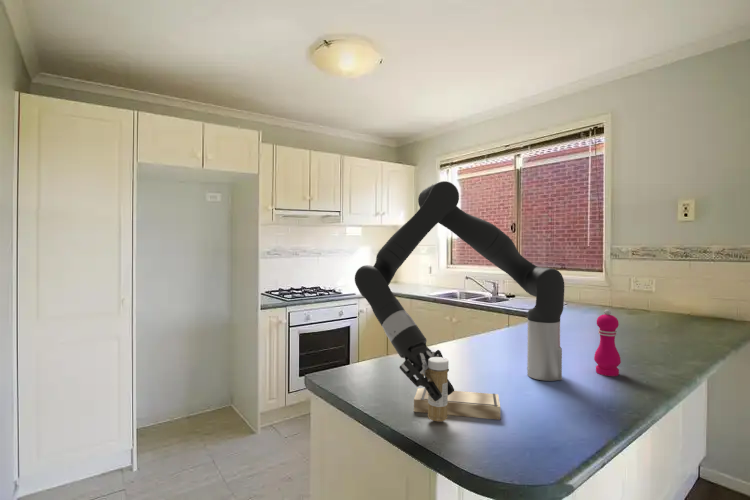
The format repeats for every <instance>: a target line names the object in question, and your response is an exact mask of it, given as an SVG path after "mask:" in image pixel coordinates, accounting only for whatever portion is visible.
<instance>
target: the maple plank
mask: <svg viewBox="0 0 750 500" xmlns="http://www.w3.org/2000/svg"><path fill="white" fill-rule="evenodd" d="M499 397H500V396H499V393H485V392H474V391H460V390H454V392H453V393H451V394H450V395H448V403H447V416H456V417H464V418H465V417H467V418H468V417H469V418H477V419H478V418H479V419H485V420H486V419H487V420H499V421H500V420H501V404H500V398H499ZM413 412H415V413H424V414H425V413H426V414H428V391H427V390H426V388H425V387H417V390H416V392H415V396H414V398H413Z"/></svg>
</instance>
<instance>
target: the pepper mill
mask: <svg viewBox="0 0 750 500" xmlns="http://www.w3.org/2000/svg"><path fill="white" fill-rule="evenodd" d="M611 313H612V312H611V310H610V309H605V310H604V314H601V315H599V316H598V317H597V318H596V325H597V327H598V328H599V329H598V335H599V338H600V339H599V345H598V347H597V349H596V350H595V352H594V356H593V360H594V362H595V363H596V366H595V372H596V373H597V374H598V375H601V376H606V377H618V376H619V375H620V368H618V367H619V366H620V365H621V363H622V361H621V360H622V359H621V355H620V353H619V352H618V349H617V346H616V340H615V338H616V336H617V335H618V334H617V329H618V327H620V326H619V325H620V324H619V320H618V318H617V317H616V316H615V315H612V314H611Z"/></svg>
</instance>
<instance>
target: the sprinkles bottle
mask: <svg viewBox="0 0 750 500" xmlns="http://www.w3.org/2000/svg"><path fill="white" fill-rule="evenodd" d="M428 367H429V375H430V377H431V379H432V381H431V382H434V383H435V385H436V386H437V388H438V389H439V391H440V392H441V394H442V397H441V398H440V399H439V400H437V401H434V400H433V399H432V398H431V396H430V395H429V393H428V413H427V417H428V419H429V420H430V421H433V422H444V421H446V420H447V419H448V416H449V415H447V403H448V381H447V380H449V379H447V378H448V376H449V375H448V372H449V371H448V369H449V359H447V358H445V357H443V358H442V357H432V358H429V359H428Z"/></svg>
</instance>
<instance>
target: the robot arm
mask: <svg viewBox="0 0 750 500" xmlns="http://www.w3.org/2000/svg"><path fill="white" fill-rule="evenodd" d="M459 200H460V193H459V190H458V188H457V186H456V185H455V184H454V183H452V182H450V181H447V180H441V181H438V182H435V183H433V184H431V185H429V186H427V187H426V188H424V189H423V190H422V191H421V192H420V194H419V195H418V201H417V202H418V206H419V209H418V210H417V211H416V212H415V213H414V214H413V216H412V217H411V218H410V219H408V220H407V222H405V223H404V224H403V225H402V226H401V227H400V228H399V229H397V231H395V233H393V234H392V235H391V237H390V238H389V239H388V240H387V242H385V243H384V245H383V246H382V247H381V248H380V250H379V251H378V253H377V254H376V259H375V263H374V264H373V265H368V264H367V265H366V264H365V265H362V266H360V267H359V268H358V269H357V270H356V271H355V274H354V283H355V286H356V288H357V290H358V291H359V293H360V295H361V297H363V298H364V299H366V301H367V303H368V305H370V306H369V307H370V308H371V310H372V312H373V314H374V316H375V318H376V319H377V321H378V323H379V324H380V325H381V327H382V328H383V331H384V333H385V335H386V337H387V338H388V341H389V342H390V343H391V345H392V346H393V348H394V349H395V351H396V353H397V354H398V356H399V357H400V358H401V359H404V362H402V363H401V364H400V365H399V370H400V371H401V372H402V373H403V374H404V375H405V376H406V377H407V378H408V379H409V380H410V381H411V383H412V384H413V385H414V386H415V387H416V388H420V387H421V388H426V390H427V391H428V393H429V395H430V396H431V398H432V399H433V400H434V401H437V400H439V399H440V398H441V397H442V394H441V392H440V391H439V389H438V388H437V386H436V385H435V383H434V382H431V381H432V379H431V377H430V375H429V367H428V359H429V358H432V357H442V358H444V357H443V354H442V352H441V350H439V349H437V350H436V351H432V350H431V349H430V348H429V347H428V346H427V341H428V340H427V338H426V337H425V335H424V333H423V331H421V329H420V328H419V326H418V325H417V324H416V322H415V320H414V319H413V318H412V316H411V315H410V314H409V313H408V312H407V311H406V309H405V308H404V307H403V305H402V303H400V300H398V299H397V297H396V296H395V295H394V294H393V291H392V290H391V288H390V283H391V282H392V280H393V278H394V277H395V275H396V272H398V269H400V267H402V265H403V263H404V262H405V261H407V258H409V257H410V255H411V254H412V252H414V250H415V249H416V248H417V247H418V246H419V244H420V243H421V242H422V240H423V239H424V238H425V237H426V236H427V235H428V234H429V233H430V232H431V231H432V230H433V228H434V227H435V226H437V224H440V225H441V226H443V227H444V228H446V229H448V230H449V231H450V232H451V233H453V234H454V235H455V236H457V237H458V238H459V239H460V240H462V241H463V242H464V243H466V244H467V245H468V246H469V247H471V248H472V249H473V250H474V251H476V252H477V253H478V254H479V255H481V256H482V257H483V258H485V259H486V260H487V261H488V262H490V263H491V264H493V265H494V266H495V267H497V268H498V269H500V270H501V271H503V272H504V273H505V274H507V275H508V276H509V277H510V278H512V279H513V280H514V282H515V283H517V284H518V285H519V286H520V287H521V289H523V291H525V292H526V293H527V294H529V295H530V296H533V297H536V299H535V305H534V307H533V308H530V309H528V311H527V353H526V354H527V355H526V357H527V361H526V362H527V363H526V365H527V367H526V370H527V373H526V375H527V376H528V377H530V378H532V379H535V380H538V381H539V380H540V381H546V382H554V381H562V380H563V378H562V377H563V365H562V364H563V349H562V347H561V316H562V314H563V312H564V305H565V304H564V302H565V281H564V276H563V275H562V273H561V272H560V270H558V269H555V268H549V267H540V266H538V265H535V264H534V263H532V262H530V261H529V260H527V258H525V257H524V256H523V255H522V254H520V252H519V250H518V249H517V246H516V245H515V243H514V242H513V240H512V239H511V237H509V236H508V235H507V234H506V233H505V232H504V231H502V229H500V228H498V227H497V226H496V225H495V224H493V223H491V222H490V221H487V220H485V219H482V218H479V217H477V216H474V215H472V214H470V213H467V212H465V211H464V210H462V209H461V208H459V207H458V204H459V202H460V201H459ZM448 372H450V368H448ZM447 379H448V378H447ZM447 381H448V395H450V394H451V393H453V392H454V391H455V388H454V386H453V384H452V383H451V381H450V379H448V380H447Z"/></svg>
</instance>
